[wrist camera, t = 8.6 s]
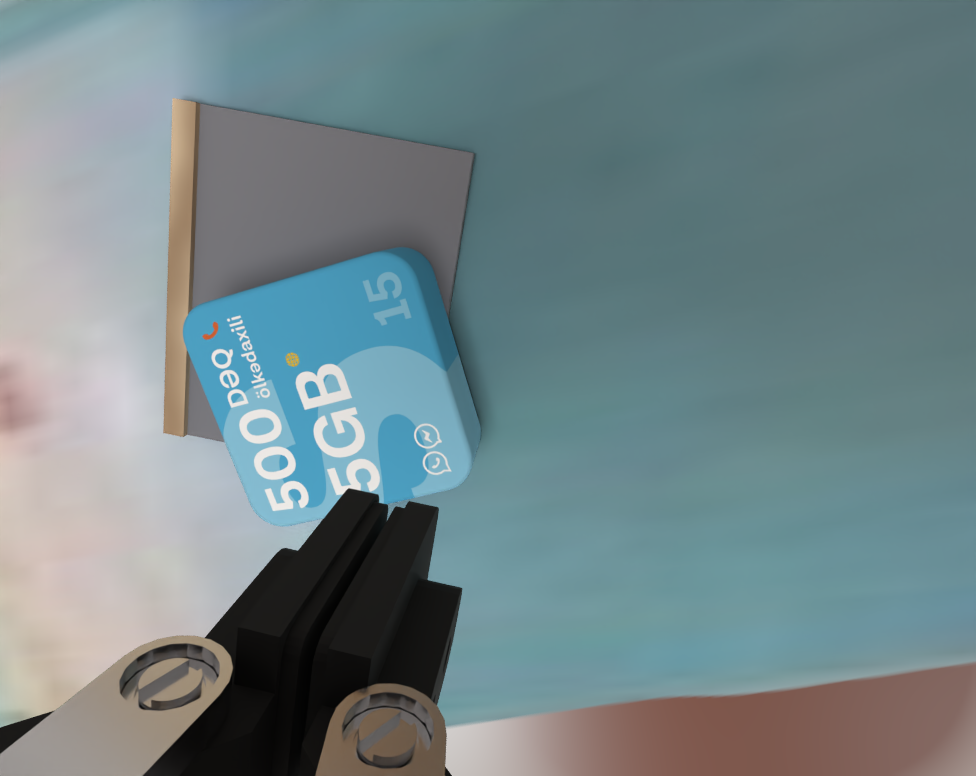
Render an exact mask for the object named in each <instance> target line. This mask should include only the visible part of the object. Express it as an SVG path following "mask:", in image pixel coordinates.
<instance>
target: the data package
mask: <svg viewBox="0 0 976 776" xmlns="http://www.w3.org/2000/svg"><path fill="white" fill-rule="evenodd" d="M183 339H184V343H185V346H186V348H187V351H188V353H189V356H190V358H191V360H192V363H193V365H194V368H195V370H196V373H197V375H198V378H199V380H200V382H201V385H202V387H203V390H204V392H205V395H206V397H207V400H208V402H209V404H210V407H211V409H212V412H213V414H214V417H215V419H216V422H217V424H218V426H219V429H220V431H221V434H222V436H223V439H224V441H225V443H226V446H227V448H228V451H229V453H230V456H231V458H232V461H233V463H234V465H235V468H236V470H237V473H238V475H239V478H240V480H241V483H242V485H243V487H244V490H245V492H246V495H247V497H248V500H249V502H250V504H251V507H252V508H253V510H254V511H255V513H256V514H257V515H258V516H259V517H260V518H261V519H263V520H264V521H266V522H268V523H270V524H273V525H276V526H292V525H296V524H301V523H305V522H310V521H314V520H318V519H323V518H325V516H326V515H327V514H328V512H329V511H330V510H331V509H332V507H333V506H334V505H335V504H336V502H337V501H338V500H339V499H340V497H341V496H342V495H343V494H344V492H345V491H346V490H347V489H348V488H351V489H356V490H360V491H365V492H370V493H374V494H378V495H379V503H383V504H389V503H394V502H398V501H403V500H407V499H412V498H416V497H420V496H425V495H429V494H434V493H438V492H443V491H447V490H451V489H453V488H456V487H457V486H459V485H460V484H462V483H463V482H464V481H465V480H466V478H467V477H468V476H469V474H470V471H471V468H472V465H473V462H474V459H475V455H476V452H477V449H478V445H479V442H480V438H481V427H480V423H479V420H478V417H477V413H476V410H475V407H474V403H473V400H472V397H471V394H470V390H469V387H468V384H467V380H466V377H465V374H464V370H463V367H462V364H461V360H460V357H459V354H458V350H457V347H456V344H455V340H454V337H453V334H452V330H451V327H450V324H449V320H448V317H447V314H446V310H445V307H444V304H443V300H442V297H441V294H440V290H439V287H438V284H437V280H436V277H435V274H434V271H433V268H432V266H431V264H430V263H429V261H428V260H427V259H426V258H425V256H423V255H422V254H421V253H419V252H418V251H416V250H414V249H411V248H406V247H397V248H392V249H387V250H383V251H378V252H373V253H370V254H366V255H363V256H360V257H356V258H353V259H349V260H346V261H343V262H339V263H336V264H333V265H329V266H326V267H322V268H319V269H316V270H312V271H309V272H306V273H302V274H299V275H296V276H292V277H289V278H285V279H282V280H279V281H275V282H272V283H269V284H265V285H262V286H259V287H255V288H252V289H248V290H245V291H242V292H238V293H235V294H232V295H228V296H225V297H221V298H218V299H215V300H211V301H208V302H205V303H202V304H199V305H198V306H196V307H195V308H193V309H192V310H191V311H190V312H189V314H188V315H187V317H186V319H185V322H184V325H183Z"/></svg>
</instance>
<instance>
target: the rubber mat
mask: <svg viewBox="0 0 976 776" xmlns="http://www.w3.org/2000/svg"><path fill="white" fill-rule="evenodd" d="M474 156H475V154H474V153H471V152H465V151H460V150H454V149H449V148H443V147H437V146H432V145H426V144H421V143H415V142H410V141H404V140H399V139H393V138H388V137H382V136H377V135H371V134H365V133H360V132H354V131H349V130H343V129H338V128H332V127H327V126H321V125H316V124H310V123H304V122H299V121H293V120H288V119H282V118H277V117H271V116H266V115H260V114H255V113H249V112H244V111H238V110H232V109H227V108H221V107H216V106H210V105H205V104H200V123H199V149H198V174H197V200H196V225H195V251H194V276H193V301H192V309H193V308H195V307H196V306H198V305H199V304H202V303H205V302H208V301H211V300H215V299H218V298H221V297H225V296H228V295H232V294H235V293H238V292H242V291H245V290H248V289H252V288H255V287H259V286H262V285H265V284H269V283H272V282H275V281H279V280H282V279H285V278H289V277H292V276H296V275H299V274H302V273H306V272H309V271H312V270H316V269H319V268H322V267H326V266H329V265H333V264H336V263H339V262H343V261H346V260H349V259H353V258H356V257H360V256H363V255H366V254H370V253H373V252H378V251H383V250H387V249H392V248H397V247H406V248H411V249H414V250H416V251H418V252H419V253H421V254H422V255H423V256H425V258H426V259H427V260H428V261H429V263H430V264H431V266H432V268H433V271H434V274H435V277H436V280H437V284H438V287H439V290H440V294H441V297H442V300H443V304H444V307H445V310H446V314H447V317H448V319H449V313H450V307H451V300H452V294H453V288H454V282H455V275H456V269H457V263H458V256H459V250H460V244H461V238H462V231H463V225H464V219H465V213H466V206H467V200H468V194H469V187H470V181H471V175H472V169H473V162H474ZM187 435H192V436H197V437H202V438H207V439H212V440H216V441H221V442H225V441H224V439H223V436H222V434H221V431H220V429H219V426H218V424H217V422H216V419H215V417H214V414H213V412H212V409H211V407H210V404H209V402H208V400H207V397H206V395H205V392H204V390H203V387H202V385H201V382H200V380H199V378H198V375H197V373H196V370H195V368H194V365H193V363H192V360H191V358H190V378H189V403H188V429H187Z"/></svg>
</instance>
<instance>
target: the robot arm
mask: <svg viewBox="0 0 976 776" xmlns="http://www.w3.org/2000/svg"><path fill="white" fill-rule="evenodd" d="M438 511H439V509H438V507H434V506H429V505H425V504H420V503H415V502H411V501H409V502H408V503H407V505H406V507H405V508H401V507H395V508H394V510H393V512H392V513H391V515H390V517H389V518H388V520H387V514H388V505H387V504H383V503H379V495H378V494H374V493H370V492H365V491H360V490H356V489H351V488H348V489H347V490H346V491H345V492H344V494H343V495H342V496H341V497H340V499H339V500H338V501H337V502H336V504H335V505H334V506H333V507H332V509H331V510H330V511H329V512H328V514H327V515H326V516H325V518H324V519H323V520H322V521H321V523H320V524H319V525H318V526H317V528H316V529H315V530H314V531H313V533H312V534H311V535H310V536H309V538H308V539H307V540H306V542H305V543H304V544H303V545H302V547H301V548H300V549H299V550H298V551H296V550H292V549H288V548H283V549H281V550H280V551H279V552H278V553H276V555H275V556H274V557H273V558H272V559H271V560H270V562H269V563H268V564H267V565H266V566H265V568H264V569H263V570H262V571H261V572H260V573H259V575H258V576H257V577H256V578H255V579H254V580H253V582H252V583H251V584H250V585H249V586H248V588H247V589H246V590H245V591H244V592H243V593H242V595H241V596H240V597H239V598H238V599H237V600H236V602H235V603H234V604H233V605H232V606H231V608H230V609H229V610H228V611H227V612H226V613H225V615H224V616H223V617H222V618H221V619H220V620H219V622H218V623H217V624H216V625H215V626H214V628H213V629H212V630H211V631H210V632H209V633H208V635H207V636H206V637H205V638H202V637H198V636H172V637H167V638H162V639H157V640H155V641H152V642H149V643H147V644H144V645H142V646H139V647H138V648H136V649H135V650H133V651H131V652H130V653H128V654H127V655H125V656H124V657H122V658H121V659H120V660H118V661H117V662H116V663H115V664H113V665H112V666H111V667H110V668H108V669H107V670H106V671H105V672H103V673H102V674H101V675H99V676H98V677H97V678H96V679H94V680H93V681H92V682H91V683H89V684H88V685H87V686H86V687H84V688H83V689H82V690H80V691H79V692H78V693H77V694H75V695H74V696H73V697H72V698H70V699H69V700H68V701H67V702H65V703H64V704H63V705H61V706H60V707H59V708H58V709H56V710H55V711H52V712H49V713H45V714H42V715H39V716H36V717H33V718H29V719H26V720H23V721H20V722H17V723H13V724H10V725H7V726H4V727H1V728H0V776H452V775H451V774H450V773H449V771H448V770H447V769H446V767H445V759H446V737H447V736H446V727H445V720H444V718H443V716H442V714H441V712H440V710H439V708H438V706H437V703H438V699H439V695H440V692H441V688H442V684H443V680H444V676H445V672H446V668H447V664H448V660H449V655H450V651H451V646H452V642H453V637H454V632H455V627H456V622H457V616H458V611H459V606H460V600H461V595H462V588H460V587H455V586H451V585H446V584H442V583H438V582H433V581H429V580H427V578H428V572H429V567H430V561H431V555H432V549H433V543H434V537H435V531H436V525H437V519H438ZM386 521H387V522H386Z"/></svg>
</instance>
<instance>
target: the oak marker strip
mask: <svg viewBox="0 0 976 776" xmlns="http://www.w3.org/2000/svg"><path fill="white" fill-rule="evenodd" d="M199 123H200V103H197V102H192V101H186V100H180V99H175V98H173V105H172V141H171V177H170V214H169V250H168V287H167V323H166V359H165V396H164V432H163V433H167V434H172V435H177V436H181V437H184V436H186V435H187V429H188V403H189V378H190V356H189V353H188V351H187V348H186V346H185V343H184V339H183V325H184V322H185V319H186V317H187V315H188V314H189V312H190V311H191V310H192V301H193V276H194V251H195V225H196V200H197V174H198V149H199Z"/></svg>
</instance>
